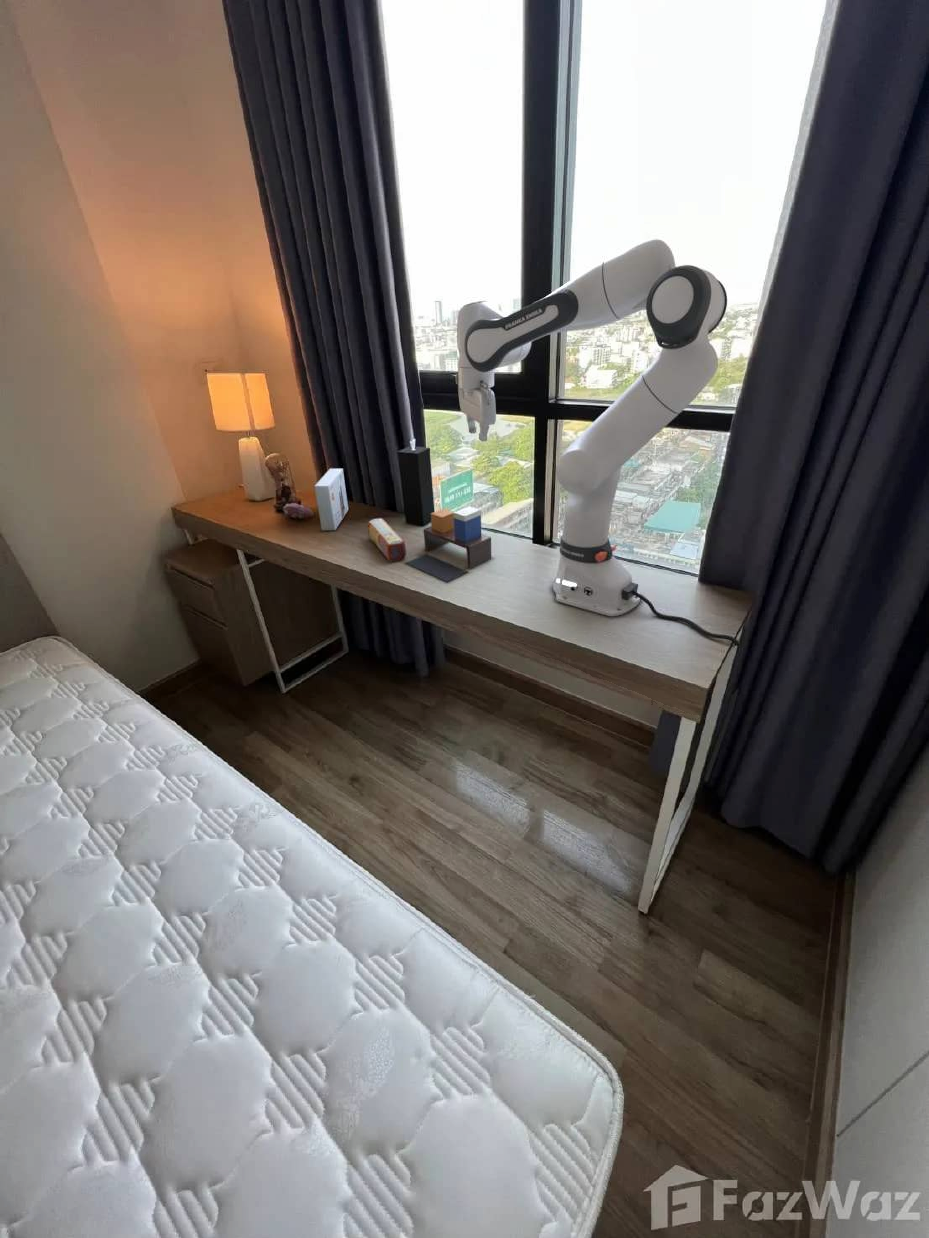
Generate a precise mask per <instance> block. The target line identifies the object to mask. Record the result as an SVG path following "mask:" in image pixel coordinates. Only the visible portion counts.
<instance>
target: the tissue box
mask: <svg viewBox="0 0 929 1238" xmlns="http://www.w3.org/2000/svg"><path fill="white" fill-rule="evenodd" d="M409 444H410V445H409V446H407V447H405V448H402V449H400V450H398V451H397V452H396V455H397V458H398V459H397V461H398V469H399V475H400V476H399V478H400V487H401V494H402V495H401V496H402V503H403V512H404V520H405V524H408V525H409V524H410V525H416V526H421V527H425V526H427V525H428V524H429V523H431V513H433V512H436V509H435V499H434V488H433V487H434V486H433V475H432V473H433V471H432V461H431V460H432V459H431V448H430V447H424V446H416V438H413V439H412V440H410V441H409Z"/></svg>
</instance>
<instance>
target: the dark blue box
mask: <svg viewBox="0 0 929 1238" xmlns="http://www.w3.org/2000/svg"><path fill="white" fill-rule="evenodd" d="M453 515H454V532H455V539H457V540H460V541H462V542H465V543H466V542H469V541H471V540H473V539H475V538H478V537H480V536H481V534H482V510H481V509H480V508H476V507H474V506H470V505H469V506H466V507H464V508H462V509H458V510H456V511H453Z"/></svg>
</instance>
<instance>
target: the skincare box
mask: <svg viewBox="0 0 929 1238" xmlns="http://www.w3.org/2000/svg"><path fill="white" fill-rule="evenodd" d="M314 491H315V498H316V504H317V510H318V515H319V521H320V529H321V531H336V530H337V529H338V527H339V525H340V524H341V522H342V520H343V519H344V518H345V516H346V514H347V513H348V511H349V505H348V497H347V496H348V495H347V490H346V483H345V475H344V468H329V469H328V470H327V471H326V472H325V473H324V475H322V477H321V478H320V479H319V480H318V481H317V482H316V483H315V485H314Z"/></svg>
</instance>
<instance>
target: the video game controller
mask: <svg viewBox="0 0 929 1238" xmlns="http://www.w3.org/2000/svg"><path fill="white" fill-rule="evenodd" d="M282 512H283V513H284V514H286V515H288V516H290V517H291V518H293V519H296V518H297V517H298V518H299V519H304V518H305V516H306V517H308V518H313V516H314V512H313V510H311V509H309V508H308V507H306V506H305V505H303V504H300V503H299V504H298V503H296V502H295V503H293V502H292V503H286V504H285V505H284V506H283V508H282Z"/></svg>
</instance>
